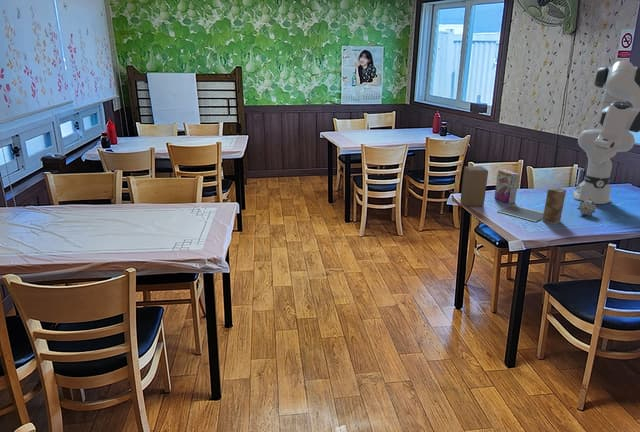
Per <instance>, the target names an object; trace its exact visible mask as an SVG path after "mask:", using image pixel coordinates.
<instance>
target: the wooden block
mask: <svg viewBox="0 0 640 432" xmlns="http://www.w3.org/2000/svg"><path fill="white" fill-rule="evenodd" d="M463 168H464V169H463V176H462V184H461V192H460V202H461V203H462V204H463V205H464V206H465V207H484V205H485V201H486V200H485V198H486V190H487V185H488V184H487V183H488V177H489V170H488V169H486V168H485V167H483V166H482V165H479V166H478V165H475V166H474V165H470V166H469V165H467V166H464V167H463Z"/></svg>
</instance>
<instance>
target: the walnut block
mask: <svg viewBox="0 0 640 432" xmlns="http://www.w3.org/2000/svg"><path fill="white" fill-rule="evenodd" d="M566 193H567V189H564V188H559V187H555V186H552V187H550V188H548V189H547V193H546V199H545V204H544V210H543V213H544V214H543V219H542V221H543V222H545V221H546V223H549V222H550V224H553V223H554V225H556V224H557V223H560V222H561V218H562V215H563V214H562V213H563V208H564V205H565V204H564V203H565V198H566Z"/></svg>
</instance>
